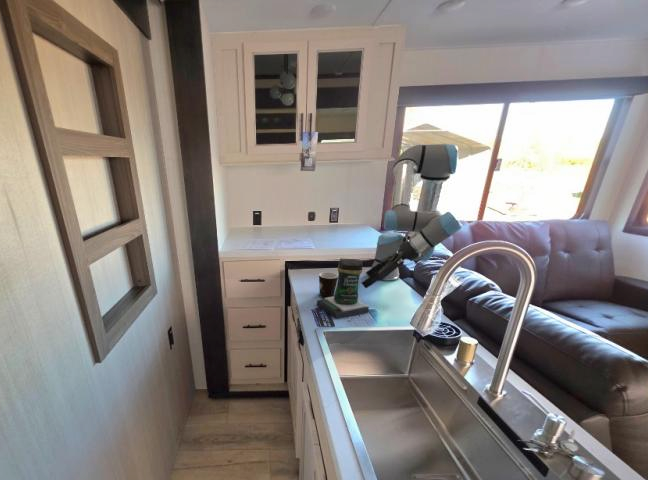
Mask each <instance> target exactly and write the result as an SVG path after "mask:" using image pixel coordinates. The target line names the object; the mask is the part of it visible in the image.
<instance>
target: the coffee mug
mask: <svg viewBox="0 0 648 480" xmlns="http://www.w3.org/2000/svg"><path fill="white" fill-rule="evenodd" d="M338 275H339V274H337V273H335V272H330V271H324V272H320V273H319V274H318V284H319V297H320V298H323V299H325V298H328V297H333V296H334V295H335V290H336V286H337V282H338Z"/></svg>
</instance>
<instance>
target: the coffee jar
mask: <svg viewBox="0 0 648 480" xmlns="http://www.w3.org/2000/svg"><path fill="white" fill-rule="evenodd" d="M337 272H338V274H337V275H338V280H337V284H336V288H335V293H334V300H335V301H336V302H337V303H340V304H356V303H357V302H358V300H359V285H360V276H361V274H362V273H363V261H362V259H360V258H342V257H340V259H339V261H338V264H337Z"/></svg>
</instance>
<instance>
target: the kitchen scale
mask: <svg viewBox="0 0 648 480" xmlns="http://www.w3.org/2000/svg"><path fill="white" fill-rule="evenodd" d="M316 307H318V308H319V309H321V310H322V311H324V312H325V313H327V314H328V315H329V316H331V317H332V318H333V319H334V320H338V319H342V318H347V317H348V318H349V317H353V316H357V315H363V314H367V313H369V309H370V307H369V306H368V304H366V303H364V302H362V301H361V300H359V299H358V302H357V303H356V304H340V303H337V302H336V301H335V300H334V296H333V297H328V298H323V299H318V300H316Z"/></svg>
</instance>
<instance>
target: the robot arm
mask: <svg viewBox="0 0 648 480" xmlns="http://www.w3.org/2000/svg"><path fill="white" fill-rule="evenodd" d="M458 163H459V148H458V146H457V145H456V144H447V143H439V144H438V143H437V144H435V143H434V144H415V145H413V146H410V147H409V148H407V149H406V150H404V151H403V152H402V153H401V154H400V155H399V156H398V157H397V158H396V160H395V162H394V164H393V168H392V175H393V177H394V181H393V188H392V197H391V205H390V209H387V210H386V211H385V213H384V219H383V229H384V230H387V231H392V232H384V233H381V234H380V235H379V236H378V238H377V242H376V250H375V256H374V261H373V263H372V265H371V268H370V269H368V270H367V271H366V272H365V274H366V275H367V276H368V278H366V279H365V280H363V281H362V282H361V285H362V286H363V287H364V288H365V289H367V288H369V287H371V286H372V285H374V284H375V283H377V282H378V281H385V282H386V281H387V282H388V281H389V282H390V281H391V282H393V281H396V280H399V278H400V272H399V267H400V266H401V265H404V263H405V261H407V260H408V261H409V262H413V261H417V262H428V260H430V259H431V258H432V256H433V254H434V252H435V250H436V246H438V245H439V244H441V243H442V242H444V241H446V240H447V239H448V238H450V237H452V236H454V235H455V234H456V233H458V232H459V231H460V230H461V229H462V228H463V224H462V223H461V222H460V220H459V219H458V218H457V216H456V215H455V214H454V213H453V212H452V211H449V210H448V211H446V212H443V211H442V210H439V209H438V208H439V204H440V201H441V200H440V199H441V198H442V194H443V189H444V185H445V183H446V182H447V181H449V180H450V179H451V178H450V177H451V175H455V174H456V172H457V168H458ZM416 174H417V175H420V176H419V178H420V180H421V181H422V185H421V190H420V193H419V199H418V203H417V206H416V210H412V209H413V194H414V183H415V182H414V181H415V175H416ZM393 231H394V232H393ZM402 232H408V233H407V236H405V235H404V234H403V233H402Z"/></svg>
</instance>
